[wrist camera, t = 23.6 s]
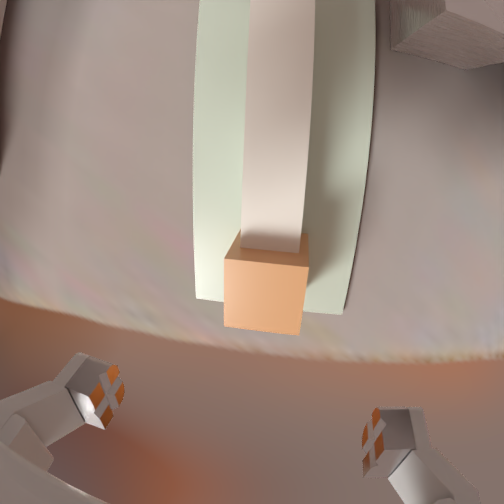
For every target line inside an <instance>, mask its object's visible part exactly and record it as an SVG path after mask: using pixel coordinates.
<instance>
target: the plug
mask: <svg viewBox="0 0 504 504" xmlns="http://www.w3.org/2000/svg"><path fill="white" fill-rule="evenodd" d="M314 32H315V0H250V17H249V37H248V58H247V79H246V102H245V126H244V151H243V178H242V207H241V229H240V231H239V232H238V234H237V236H236V238H235V240H234V241H233V243H232V245H231V247H230V249H229V250H228V252H227V254H226V256H225V258H224V326H226V327H233V328H240V329H248V330H256V331H264V332H273V333H282V334H291V335H299V332H300V326H301V319H302V313H303V306H304V299H305V292H306V285H307V278H308V271H309V245H308V234H306V233H301V229H302V219H303V208H304V198H305V186H306V175H307V162H308V149H309V135H310V120H311V103H312V84H313V62H314Z"/></svg>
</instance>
